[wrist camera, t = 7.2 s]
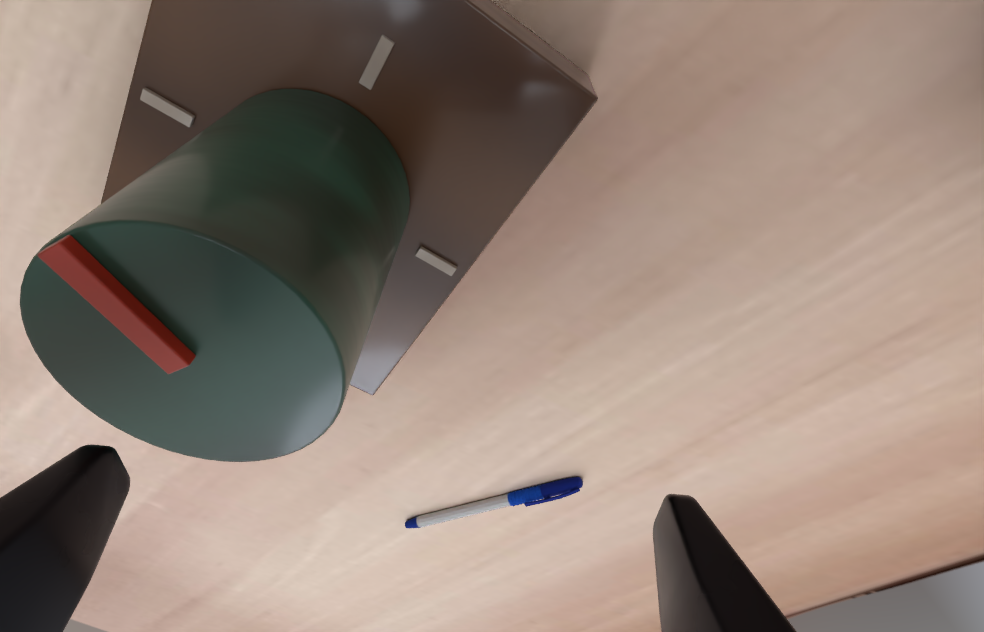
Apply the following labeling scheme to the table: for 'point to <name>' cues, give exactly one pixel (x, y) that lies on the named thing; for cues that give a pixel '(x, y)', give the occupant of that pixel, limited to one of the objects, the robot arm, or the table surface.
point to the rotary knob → (227, 281)
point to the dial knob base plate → (374, 117)
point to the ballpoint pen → (502, 502)
